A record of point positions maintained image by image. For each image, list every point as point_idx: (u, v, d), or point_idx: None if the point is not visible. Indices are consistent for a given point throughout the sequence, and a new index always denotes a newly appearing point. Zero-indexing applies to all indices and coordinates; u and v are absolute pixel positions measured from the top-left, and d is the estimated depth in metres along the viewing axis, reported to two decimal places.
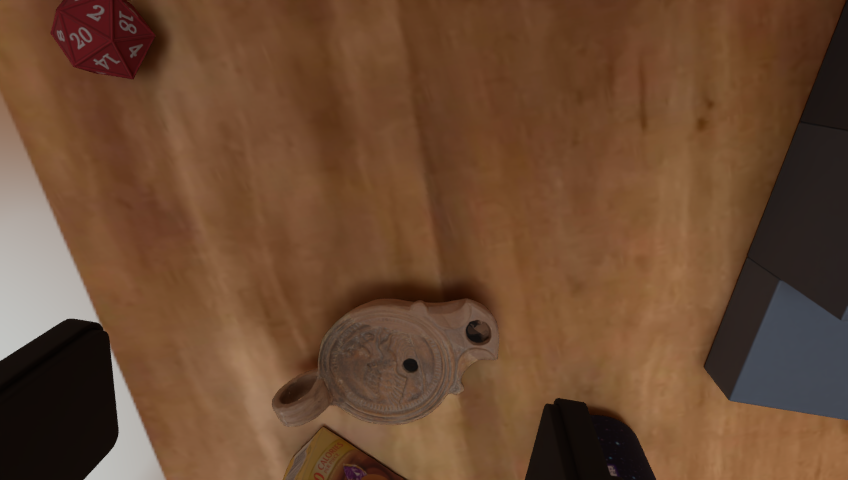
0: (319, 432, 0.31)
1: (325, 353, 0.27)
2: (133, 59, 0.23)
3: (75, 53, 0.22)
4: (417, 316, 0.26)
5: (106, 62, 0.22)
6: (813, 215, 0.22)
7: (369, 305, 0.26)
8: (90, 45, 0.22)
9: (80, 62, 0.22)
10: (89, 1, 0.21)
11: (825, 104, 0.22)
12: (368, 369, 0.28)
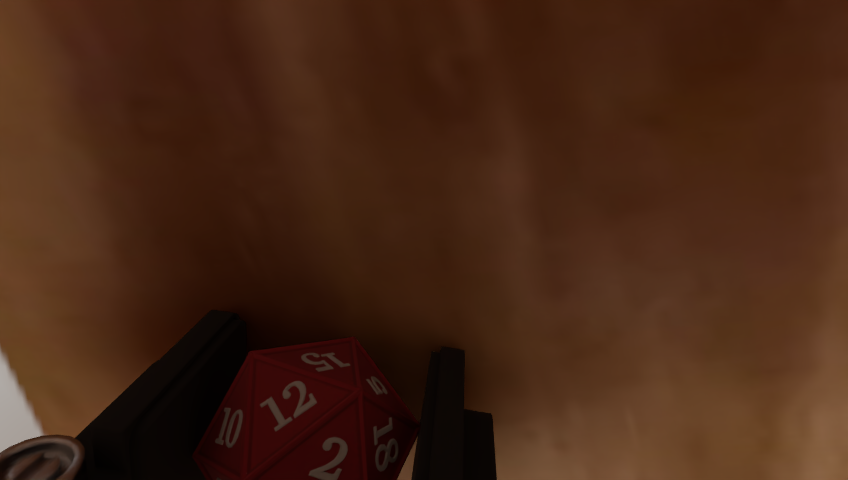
0: None
1: None
2: None
3: None
4: None
5: None
6: None
7: None
8: None
9: None
10: (312, 433, 0.08)
11: None
12: None
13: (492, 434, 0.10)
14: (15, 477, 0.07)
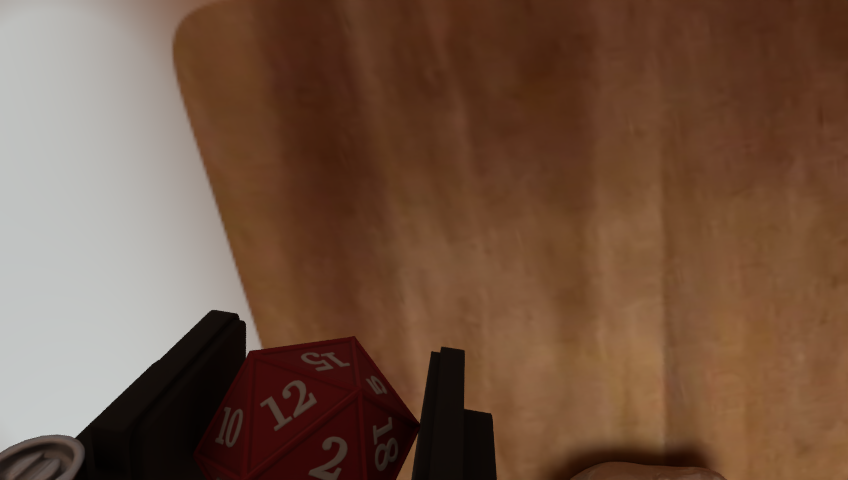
0: None
1: None
2: None
3: None
4: None
5: None
6: None
7: None
8: None
9: None
10: (313, 433, 0.08)
11: None
12: None
13: (492, 434, 0.10)
14: (15, 477, 0.07)
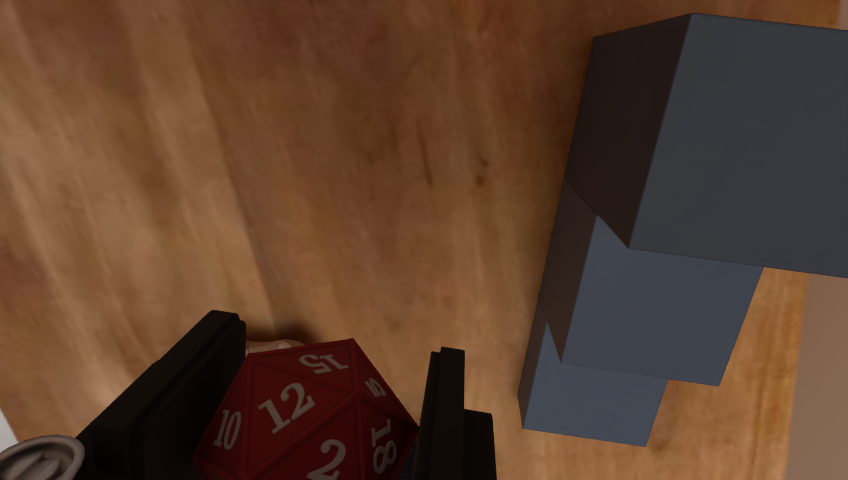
0: None
1: None
2: None
3: None
4: None
5: None
6: (560, 266, 0.24)
7: None
8: None
9: None
10: (310, 436, 0.08)
11: (572, 165, 0.25)
12: None
13: (492, 434, 0.10)
14: (15, 477, 0.07)
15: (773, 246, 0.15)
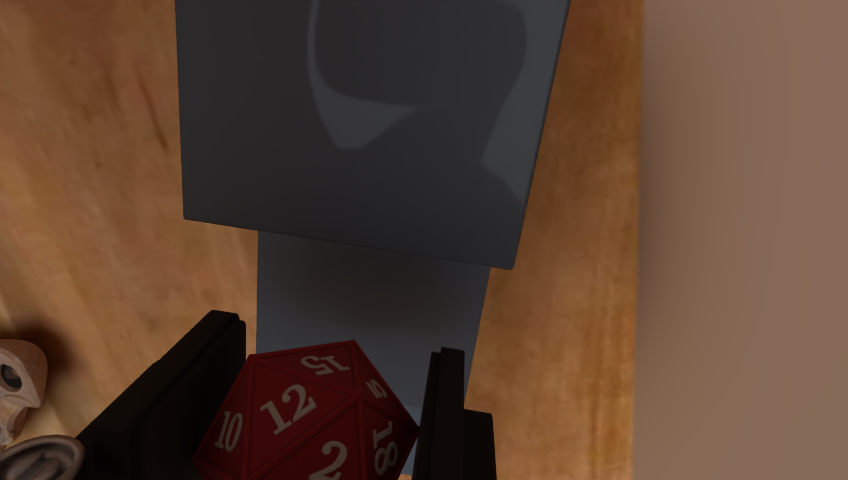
0: None
1: None
2: None
3: None
4: None
5: None
6: None
7: None
8: None
9: None
10: (312, 437, 0.08)
11: None
12: None
13: (492, 433, 0.10)
14: (15, 477, 0.07)
15: (391, 219, 0.10)
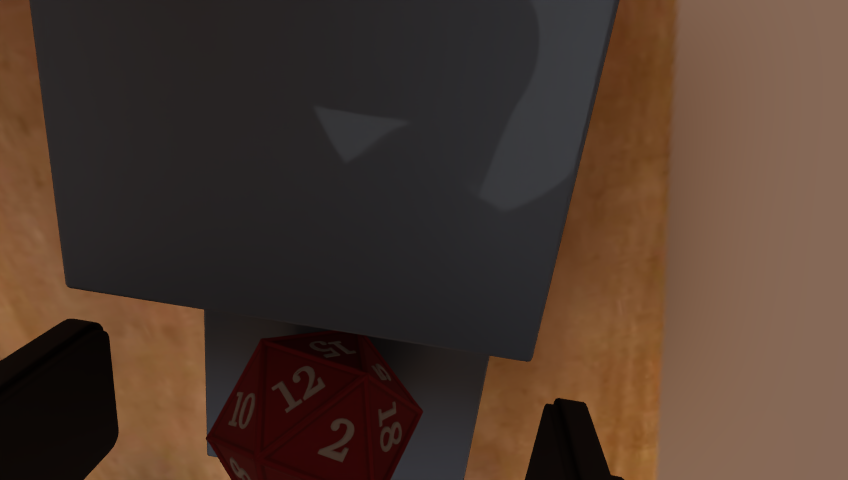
0: None
1: None
2: None
3: None
4: None
5: None
6: None
7: None
8: None
9: None
10: (321, 415, 0.09)
11: None
12: None
13: None
14: None
15: (357, 291, 0.07)
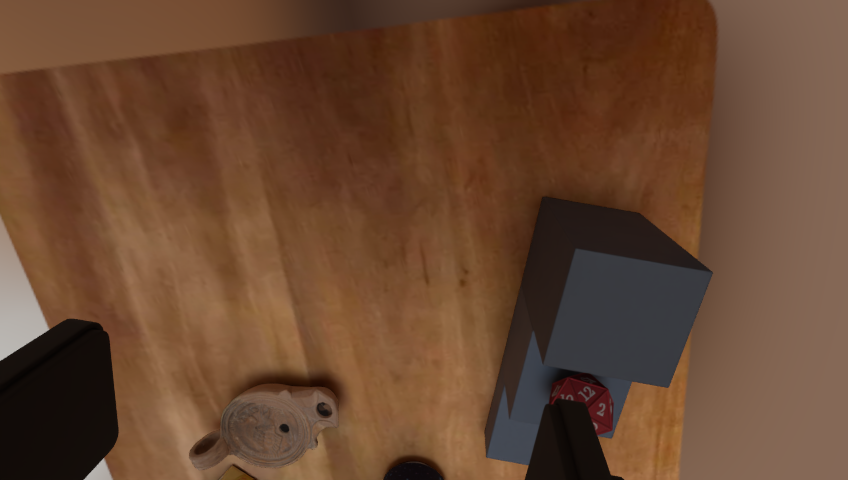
0: (229, 469, 0.45)
1: (225, 421, 0.40)
2: None
3: None
4: (283, 399, 0.39)
5: None
6: (514, 349, 0.36)
7: (253, 391, 0.39)
8: None
9: None
10: (597, 401, 0.29)
11: (525, 280, 0.36)
12: (256, 430, 0.41)
13: None
14: None
15: (625, 368, 0.27)
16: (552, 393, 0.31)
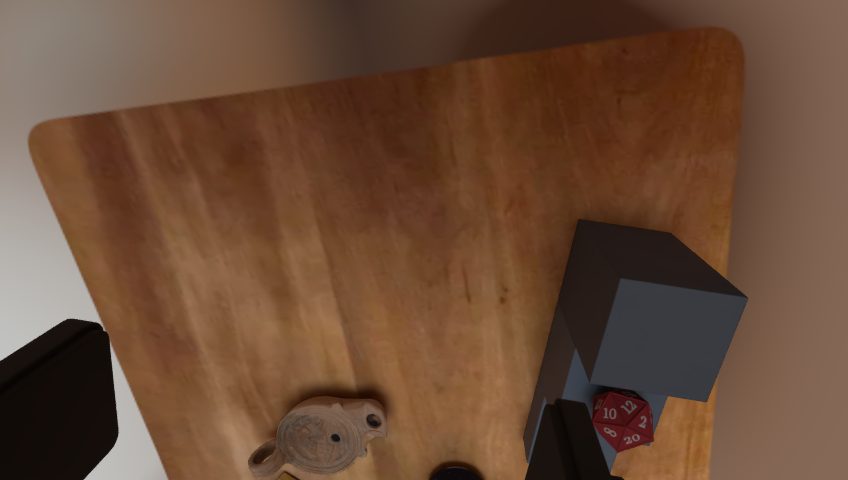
0: (281, 476, 0.48)
1: (280, 432, 0.43)
2: None
3: (622, 445, 0.31)
4: (336, 411, 0.42)
5: None
6: (554, 363, 0.38)
7: (307, 404, 0.42)
8: (635, 442, 0.31)
9: (623, 450, 0.31)
10: (638, 415, 0.31)
11: (563, 298, 0.38)
12: (309, 440, 0.44)
13: None
14: None
15: (666, 385, 0.29)
16: (595, 406, 0.33)
